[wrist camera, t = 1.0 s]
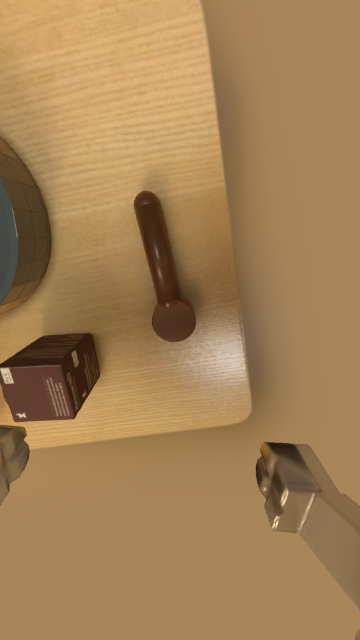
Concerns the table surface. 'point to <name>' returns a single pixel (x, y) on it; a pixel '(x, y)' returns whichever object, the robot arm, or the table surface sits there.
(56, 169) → the table surface
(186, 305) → the disc-headed brown rod
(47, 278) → the table surface
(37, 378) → the box
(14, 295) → the bowl
